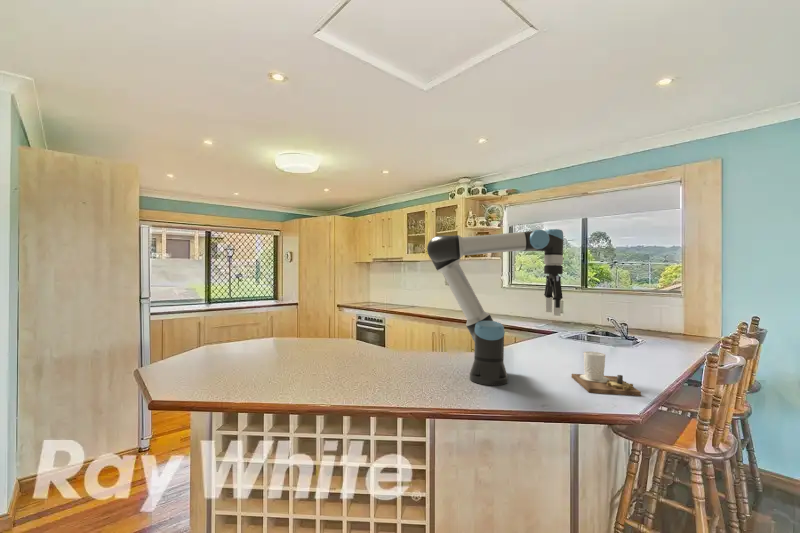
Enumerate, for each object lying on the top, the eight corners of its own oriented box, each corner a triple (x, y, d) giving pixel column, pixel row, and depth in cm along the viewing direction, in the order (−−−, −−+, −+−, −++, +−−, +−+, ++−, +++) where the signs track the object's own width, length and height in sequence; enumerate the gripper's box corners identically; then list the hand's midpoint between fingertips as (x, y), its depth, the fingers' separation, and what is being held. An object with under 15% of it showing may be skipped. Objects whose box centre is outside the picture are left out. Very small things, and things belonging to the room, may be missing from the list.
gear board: (588, 392, 141) (589, 377, 141) (571, 377, 162) (571, 363, 162) (640, 396, 138) (641, 380, 138) (616, 380, 159) (616, 366, 159)
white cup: (600, 375, 158) (600, 351, 158) (608, 381, 150) (608, 355, 150) (580, 374, 158) (580, 351, 159) (587, 380, 151) (588, 355, 151)
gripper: (571, 264, 151) (570, 317, 151) (554, 265, 176) (554, 311, 176) (551, 264, 153) (550, 316, 152) (538, 265, 177) (537, 310, 177)
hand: (552, 313), depth 164 cm, fingers open, 13 cm apart
